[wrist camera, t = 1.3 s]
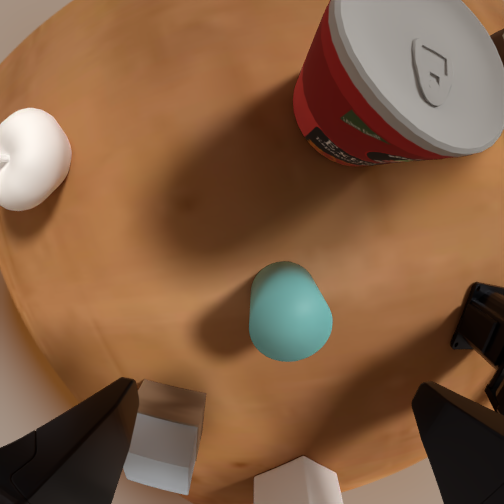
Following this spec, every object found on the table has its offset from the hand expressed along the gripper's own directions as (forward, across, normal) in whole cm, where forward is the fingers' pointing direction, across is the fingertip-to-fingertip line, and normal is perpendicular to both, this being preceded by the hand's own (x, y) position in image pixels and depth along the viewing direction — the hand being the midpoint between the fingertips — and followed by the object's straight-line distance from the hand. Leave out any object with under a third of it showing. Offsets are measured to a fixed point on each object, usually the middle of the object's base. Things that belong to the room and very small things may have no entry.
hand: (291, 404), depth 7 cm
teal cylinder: (+12, -2, +1) cm, 12 cm away
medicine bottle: (+12, -7, +25) cm, 28 cm away
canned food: (+12, -4, -12) cm, 17 cm away
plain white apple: (+13, +17, -7) cm, 23 cm away
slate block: (+8, +6, +14) cm, 17 cm away
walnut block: (+12, +6, +14) cm, 20 cm away
